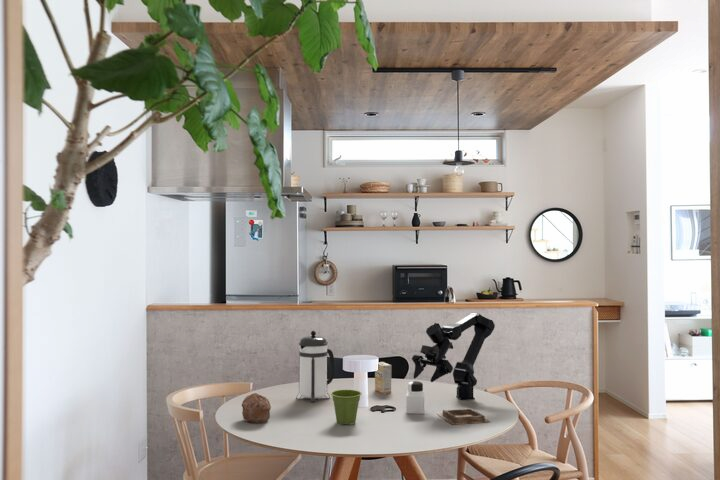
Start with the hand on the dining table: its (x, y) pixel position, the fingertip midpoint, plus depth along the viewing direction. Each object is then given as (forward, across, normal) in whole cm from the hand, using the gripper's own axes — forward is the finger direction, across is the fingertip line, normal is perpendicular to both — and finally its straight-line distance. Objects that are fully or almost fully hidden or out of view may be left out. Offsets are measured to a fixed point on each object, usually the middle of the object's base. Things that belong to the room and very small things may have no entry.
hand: (422, 379), depth 260 cm
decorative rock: (+51, -33, -33) cm, 69 cm away
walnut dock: (+8, +20, +10) cm, 23 cm away
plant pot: (+34, -7, -16) cm, 39 cm away
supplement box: (+1, -34, +17) cm, 38 cm away
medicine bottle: (+12, 0, +6) cm, 13 cm away
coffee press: (+23, -46, -5) cm, 51 cm away
